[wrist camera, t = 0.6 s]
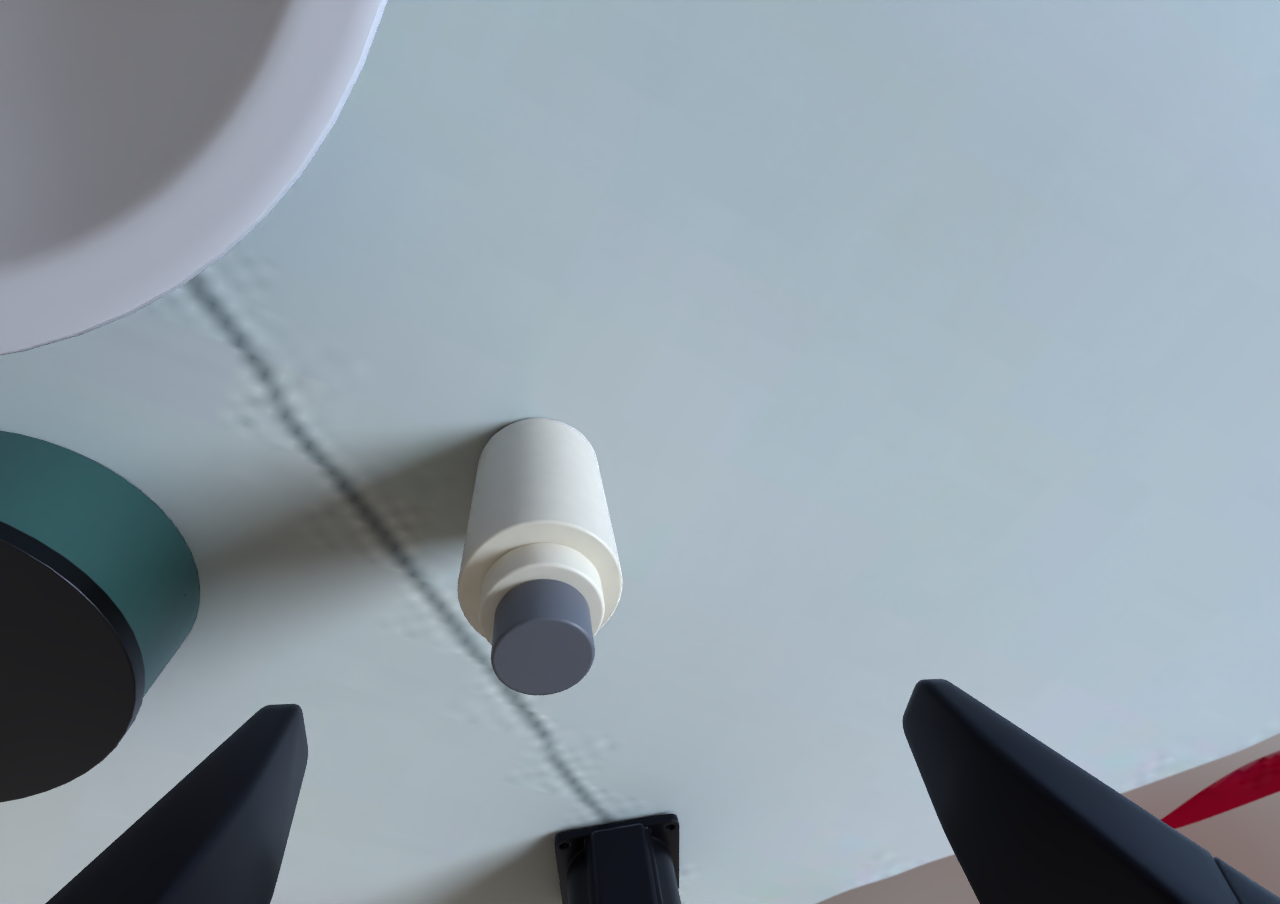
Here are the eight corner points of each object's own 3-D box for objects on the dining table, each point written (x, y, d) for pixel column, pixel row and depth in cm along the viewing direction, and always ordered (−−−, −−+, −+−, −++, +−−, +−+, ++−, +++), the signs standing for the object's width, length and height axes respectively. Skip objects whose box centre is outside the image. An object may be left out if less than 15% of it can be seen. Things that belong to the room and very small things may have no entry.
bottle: (601, 516, 24) (639, 712, 16) (486, 528, 23) (460, 738, 15) (594, 412, 22) (634, 570, 14) (469, 422, 21) (429, 595, 13)
